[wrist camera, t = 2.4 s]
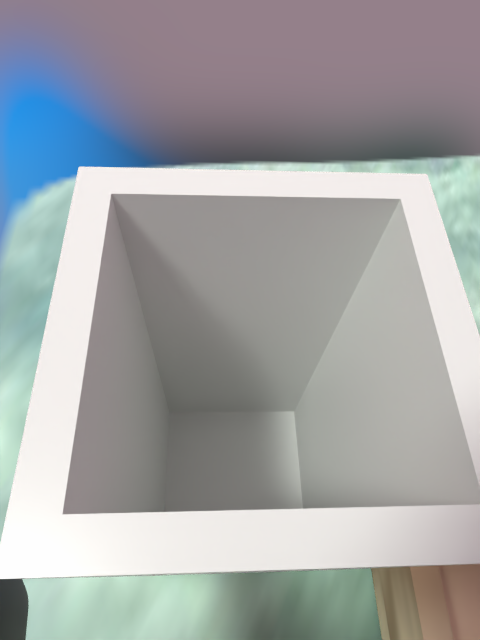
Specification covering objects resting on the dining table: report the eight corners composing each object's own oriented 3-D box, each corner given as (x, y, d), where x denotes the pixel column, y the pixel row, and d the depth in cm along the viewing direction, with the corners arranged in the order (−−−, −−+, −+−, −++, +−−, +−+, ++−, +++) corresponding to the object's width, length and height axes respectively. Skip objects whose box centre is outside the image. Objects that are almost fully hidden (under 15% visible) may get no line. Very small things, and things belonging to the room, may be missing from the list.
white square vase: (322, 570, 15) (553, 560, 5) (145, 575, 15) (-7, 579, 5) (305, 401, 18) (427, 174, 8) (156, 403, 18) (78, 166, 8)
